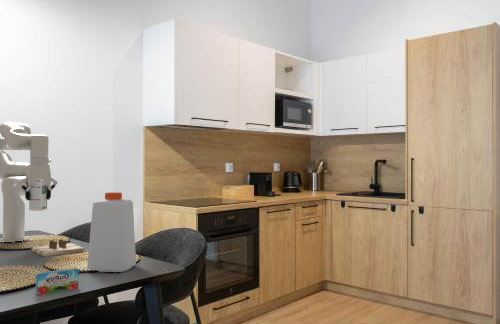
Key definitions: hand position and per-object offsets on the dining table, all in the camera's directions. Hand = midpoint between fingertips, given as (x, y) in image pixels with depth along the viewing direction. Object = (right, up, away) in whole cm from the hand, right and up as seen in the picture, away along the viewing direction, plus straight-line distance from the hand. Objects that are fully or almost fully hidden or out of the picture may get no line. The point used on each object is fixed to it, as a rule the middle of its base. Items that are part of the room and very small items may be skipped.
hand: (38, 199), depth 205 cm
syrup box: (0, -5, 0) cm, 5 cm away
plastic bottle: (+46, -22, -40) cm, 65 cm away
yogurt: (+39, -22, -71) cm, 84 cm away
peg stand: (+13, -22, -9) cm, 27 cm away
